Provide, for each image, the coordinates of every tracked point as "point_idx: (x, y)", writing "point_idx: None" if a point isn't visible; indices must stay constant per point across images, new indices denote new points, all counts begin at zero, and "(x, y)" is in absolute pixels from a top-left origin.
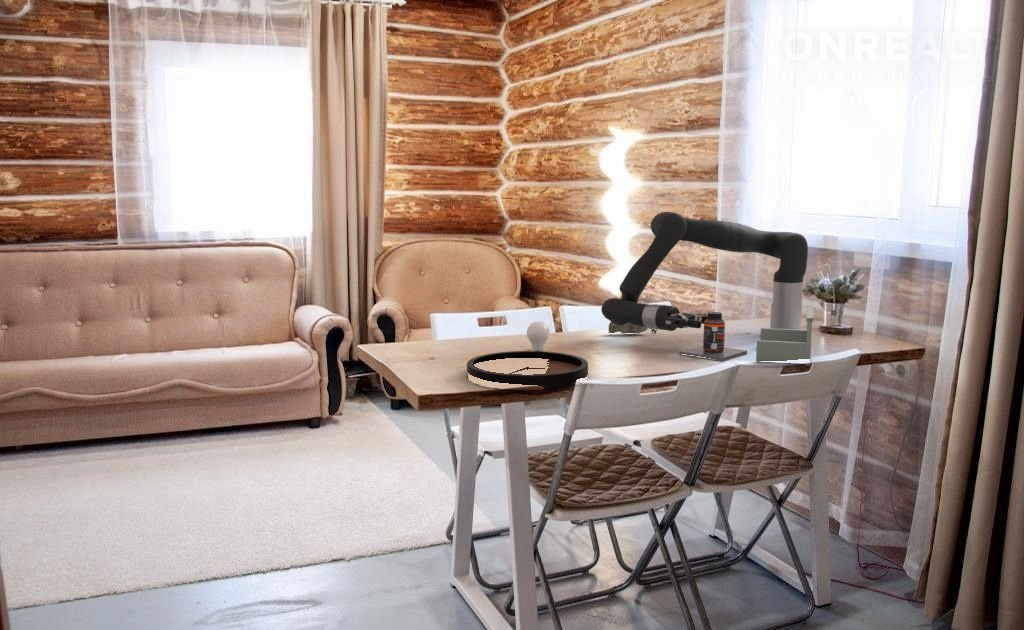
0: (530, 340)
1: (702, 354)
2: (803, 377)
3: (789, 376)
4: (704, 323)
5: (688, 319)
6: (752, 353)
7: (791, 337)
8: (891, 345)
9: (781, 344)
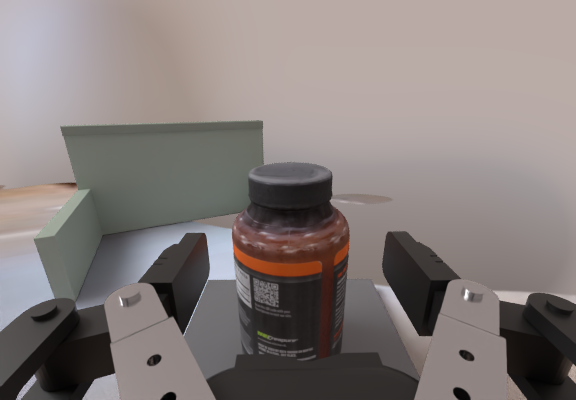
0: None
1: (397, 345)
2: (350, 195)
3: (362, 201)
4: (340, 250)
5: (456, 280)
6: None
7: (87, 219)
8: (17, 195)
9: None
